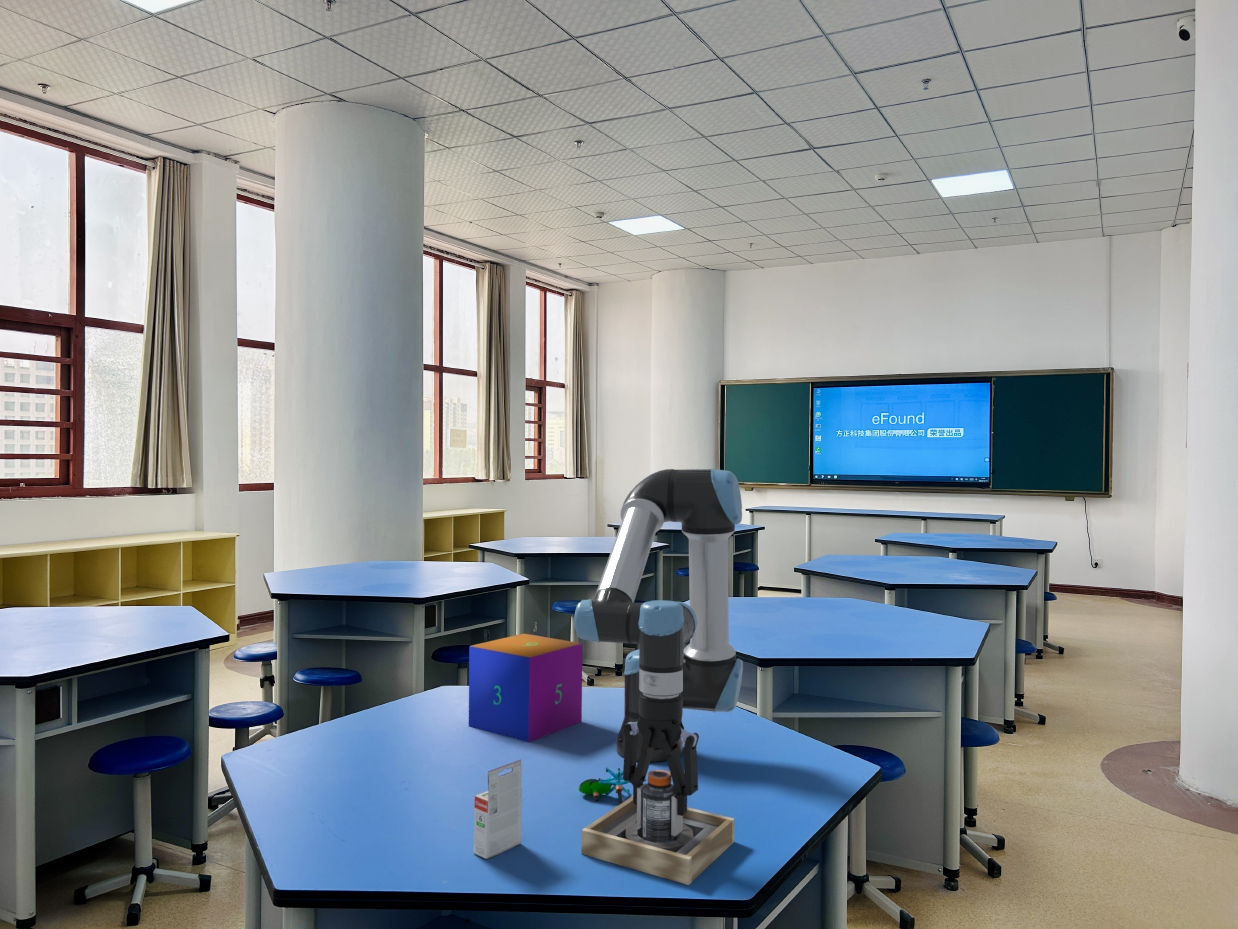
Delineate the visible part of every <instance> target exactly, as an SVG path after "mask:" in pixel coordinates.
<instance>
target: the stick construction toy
mask: <svg viewBox="0 0 1238 929" xmlns="http://www.w3.org/2000/svg"><path fill="white" fill-rule="evenodd" d="M617 770H618V772H617V773H615V772H614V771H612V769H611V768H609V767H607V766H606V767H605V773H608V774H610V775H611V777H609V778H606V779H602V778H600V777H598V779H597V778H590V779H585V780H584V781H582V782H581V783H580V784H579V786H578V791H579V793H582V794H584V795H593V798H594V801H595V802H598V801H599V798H600V797H599V796H602V795H604V796H605V797H608V795H610V794H611V793H612V792H614V791H615V793H616V794H617V799H618V804H619V805H620V804H622V803H623V802H624V800H623V793H622V792H625V794H627V795H630V794H631V792H630V789H628V788H626V787H625V786H624V785H626V784H631V783H630V782H629V781H624V779H623V770H622V771H621V769H620V767H619V768H617ZM619 805H618V806H619Z"/></svg>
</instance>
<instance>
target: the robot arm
mask: <svg viewBox="0 0 1238 929" xmlns="http://www.w3.org/2000/svg"><path fill="white" fill-rule="evenodd" d="M742 510H743V504H742V494H741V489H740V485H739V480H738V478H737V476H736V474H735V473H733V472H732V471H729V470H723V469H715V468H713V469H712V468H706V469H704V468H703V469H701V468H700V469H692V468H691V469H687V468H686V469H674V468H673V469H672V468H668V469H662V470H658V471H655V472H653V473H652V474H649V475H647V476H646V477H645V478H643V479H642V480H641V481H640V482H638V483H637V484H636V485H635V486H634V487H633V488H632V490H631V491H630V492H629V493H628V494H627V496H626V498H625V499H624V501H623V503H622V506H621V509H620V519H621V523H620V525H619V528H618V532H617V534H616V537H615V539H614V542H613V545H612V548H611V551H610V554H609V556H608V558H607V562H606V564H605V567H604V570H603V572H602V576H601V579H600V581H599V584H598V586H597V588H596V593H595V595H594V598H593V599H592V598H589V599H581V601H579V602H578V603H577V605H576V608H575V612H574V618H573V620H574V621H573V624H574V629H575V634H576V636H577V637H578V638H579V639H581V640H582V641H588V642H597V643H615V644H616V643H617V644H629V645H631V644H632V645H639V647H638V649H635V650H633V651H631V652H629V653H628V654H627V656H626V658H625V661H624V662H625V664H624V672H623V676H624V702H623V703H624V714H623V720H622V722H621V726H620V729H619V732H618V734H617V738H616V745H615V746H616V753H617V754H618V755H620V756H621V757H623V768H622V769H623V770H622V771H623V776H622V777H623V779H624V780H623V781H629V782H630V783H629V784H631V785H632V796H633V802H634V804H635V805H637V826H638V827H642V790H643V787H644V786H645V785H646V784H647V783H645V782H646V781H648V778H646V777H647V775H648V771H649V767H650V765H651V764H650V763H651V762H657V763H658V762H664V761H667V764H668V768H669V772H670V773H671V779H672V781H671V782H672V784H673V785H674V789H675V793H676V794H674V795H673V796H672V809H671V835H672V836H676V835H677V834H679V833H680V832H681V831H682V830H683V815H684V814H686V812H687V807H688V796H689V797H690V796H692V795H693V794H694V793H696V792H697V791H699V778H698V774H699V773H698V756H697V745H698V742H699V739H700V734H698V733H697V732H693V733H691V732H690V731H688V730H686V729H685V727H684V725H683V714H684V712H683V710H694V711H695V710H697V711H704V712H705V711H706V712H713V713H721V712H722V713H731V712H732V711H734V709H736V707H737V704H738V700H739V696H740V692H741V686H742V680H743V679H742V678H743V672H744V661H743V660H742V659H740V658H737V656H736V649H735V648H734V647H733V646H732V645H731V644H730V638H729V636H730V635H729V634H730V632H729V631H730V630H729V628H730V627H729V622H730V621H729V538H730V537H731V536H732V535H733V534H734V533H735V531H736V529H735V528H736V526H735V525H739V524H741V522H742V520H743V511H742ZM667 522H670V523H681V533H683V535H685V536H686V537H687V539H688V568H689V570H688V575H689V576H688V577H689V582H688V583H689V585H688V586H689V587H688V588H689V604H687V603H685V602H682V601H673V600H666V599H665V600H663V599H662V600H661V599H660V600H649V601H645V602H635V599H636V596H637V593H638V590H639V587H640V584H641V582H642V581H641V580H642V577H643V574H644V571H645V567H646V565H647V561H648V557H649V555H650V551H651V548H652V545H653V542H654V539H655V535H656V533H657V532H658V531H660V530H661V529H662V527H663V525H664V523H667ZM688 642H689V643H688ZM687 643H688V644H687ZM685 644H687V645H686V646H685V647H684V645H685ZM683 746H684V747H683ZM682 754H683V762H682V758H681V755H682Z"/></svg>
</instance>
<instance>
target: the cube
mask: <svg viewBox="0 0 1238 929" xmlns="http://www.w3.org/2000/svg"><path fill="white" fill-rule="evenodd" d="M468 651H469V652H468V653H469V654H468V658H469V660H468V664H469V665H468V727H470V728H472V729H473V728H474V729H478V730H482V731H485V732H488V733H492V734H496V735H500V736H503V737H508V738H512V739H516V740H519V741H523V742H526V743H531V742H533V741H536V740H538V739H541V738H543V737H546V736H549V735H552V734H554V733H557V732H559V731H562V730H565V729H567V728H570V727H572V726H574V725H577V724H580V723H582V722H583V718H582V716H583V714H582V713H583V712H582V711H583V709H582V708H583V643H582V642H577V641H571V640H570V641H569V640H564V639H557V638H552V637H547V636H546V637H545V636H541V635H535V634H529V633H521V634H515V635H512V636H508V637H503V638H499V639H494V640H490V641H486V642H481V643H476V644H473V645H470V646H469V650H468Z"/></svg>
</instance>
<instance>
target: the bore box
mask: <svg viewBox="0 0 1238 929" xmlns="http://www.w3.org/2000/svg"><path fill="white" fill-rule="evenodd" d="M735 819H736V818H734V817H730V816H725V815H721V814H718V813H713V812H708V811H704V810H700V809H697V808H693V807H688V806H687V812H686V814H684V815H683V830H682V831H681V832H680V833H679V834H677V839H676V841H672V842H668V843H653V842H650V841H646V840H643V838H642V827H638V826H637V805H635V804H634V802H633V795H632V796H630V797H629V798H628V799H626V800H624V801H623V803H622V804H620V805H617V806H616V807H614V808H613V809H611V810H610V811H608V812H606V813H605V814H604V815H602V816H600V817H599V818H598V819H596V820H595V821H593V822H592V823H590V824H588V825H586V826H585V827H584V828H582V829H581V843H580V844H581V846H580V850H581V852H580V853H581V855H584V856H588V857H590V858H594V859H597V860H601V861H604V862H608V863H612V864H615V865H618V866H622V867H626V868H628V869H633V870H634V871H638V872H642V873H644V874H645V873H646V874H650V875H652V876H656V877H659V878H663V879H667V880H669V881H673V882H677V883H680V884H684V885H686V886H690V884H692V883H693V882H694V881H695V880H696V879H697V878H698V877H699V876H700V875H701V874H703V872H705V870H706V869H707V868H709V866H710V865H711V864H712V863H713V862H715V861H716V860H717V859H718V858H719V857H720V856H721V855H722V854H723V853H724V852H726V850H727V849H728V848H730V846H732V845H733V843H734V842H735V829H736V828H735V822H736V821H735Z"/></svg>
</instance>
